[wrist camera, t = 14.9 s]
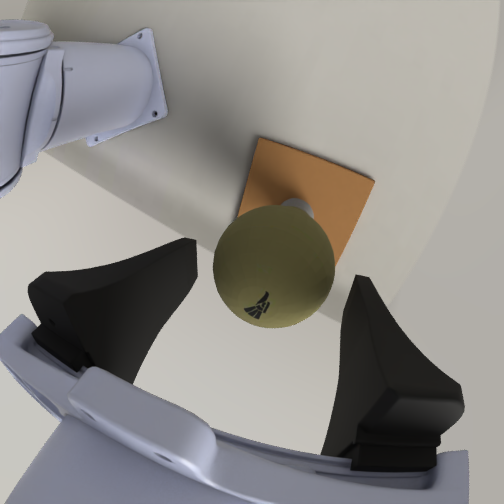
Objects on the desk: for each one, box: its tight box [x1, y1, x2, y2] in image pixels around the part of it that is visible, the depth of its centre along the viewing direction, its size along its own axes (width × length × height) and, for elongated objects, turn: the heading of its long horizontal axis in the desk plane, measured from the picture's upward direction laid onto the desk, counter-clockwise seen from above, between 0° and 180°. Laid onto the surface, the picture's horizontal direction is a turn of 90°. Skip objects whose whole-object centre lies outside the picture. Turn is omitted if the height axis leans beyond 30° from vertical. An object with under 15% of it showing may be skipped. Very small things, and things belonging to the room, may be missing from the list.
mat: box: [237, 138, 375, 266], centre depth 19 cm, size 8×8×1 cm
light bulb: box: [213, 198, 335, 328], centre depth 15 cm, size 6×6×10 cm
